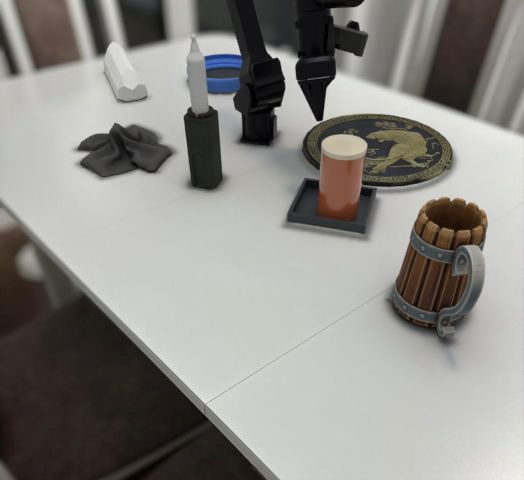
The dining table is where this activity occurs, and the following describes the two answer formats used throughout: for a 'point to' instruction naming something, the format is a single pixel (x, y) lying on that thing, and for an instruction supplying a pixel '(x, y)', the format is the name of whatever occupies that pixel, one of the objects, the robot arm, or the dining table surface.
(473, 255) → the mug
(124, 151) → the cloth
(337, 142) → the cup
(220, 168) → the candle
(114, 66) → the crystal
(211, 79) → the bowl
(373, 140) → the decorative plate
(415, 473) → the dining table surface
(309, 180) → the dark gray rectangular tray
